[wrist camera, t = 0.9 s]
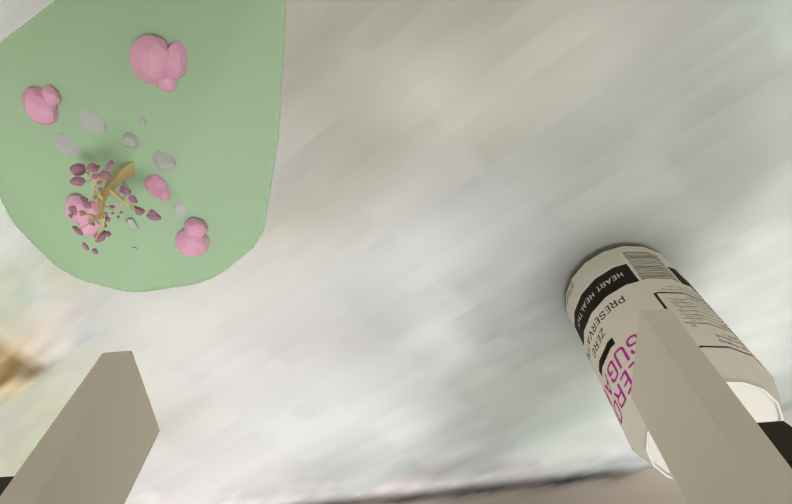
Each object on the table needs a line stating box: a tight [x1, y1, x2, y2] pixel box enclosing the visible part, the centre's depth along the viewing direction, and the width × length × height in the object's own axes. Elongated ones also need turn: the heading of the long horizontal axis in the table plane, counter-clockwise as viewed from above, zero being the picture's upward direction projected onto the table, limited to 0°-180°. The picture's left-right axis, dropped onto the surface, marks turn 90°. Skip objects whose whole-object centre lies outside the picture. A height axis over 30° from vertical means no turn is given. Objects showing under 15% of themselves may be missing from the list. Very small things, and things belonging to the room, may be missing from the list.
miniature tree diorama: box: [0, 0, 286, 292], centre depth 36 cm, size 25×21×9 cm
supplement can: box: [566, 246, 784, 479], centre depth 38 cm, size 8×8×15 cm
